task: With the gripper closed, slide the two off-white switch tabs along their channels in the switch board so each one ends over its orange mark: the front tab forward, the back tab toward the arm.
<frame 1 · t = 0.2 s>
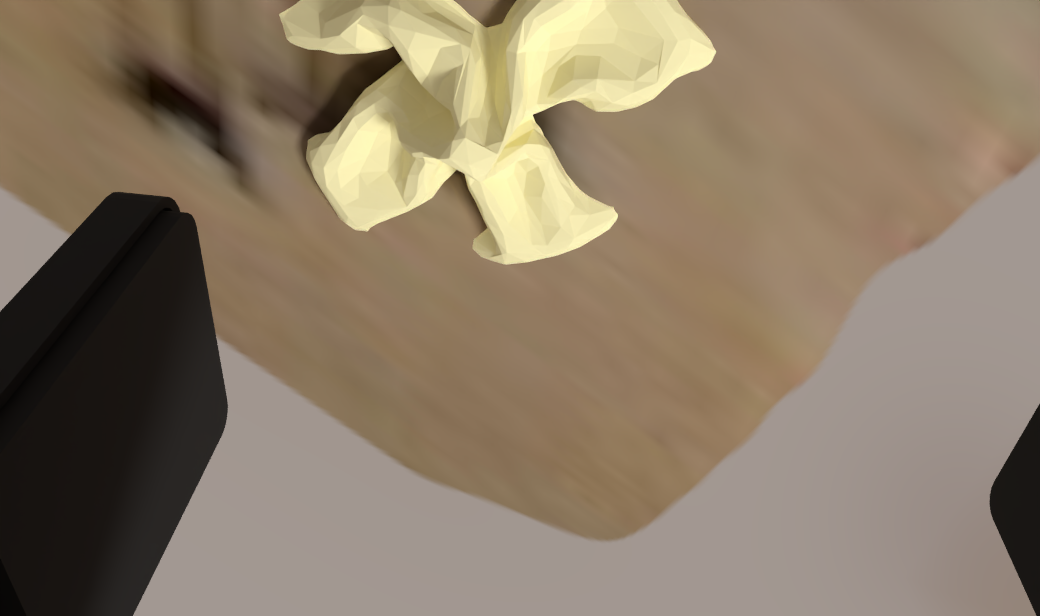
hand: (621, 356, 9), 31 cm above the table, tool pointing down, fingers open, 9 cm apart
cloth: (455, 82, 41), on the table
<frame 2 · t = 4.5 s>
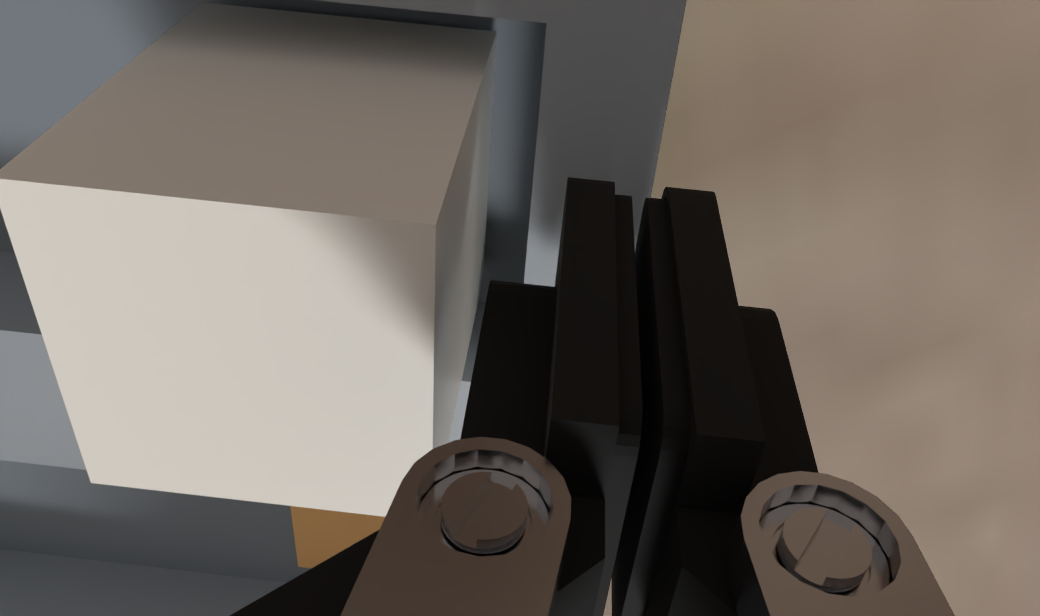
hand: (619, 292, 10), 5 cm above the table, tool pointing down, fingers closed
tab 1: (307, 241, 11), point 4 cm above the table, slide at 0.2 cm, touching gripper
switch board: (93, 277, 17), on the table
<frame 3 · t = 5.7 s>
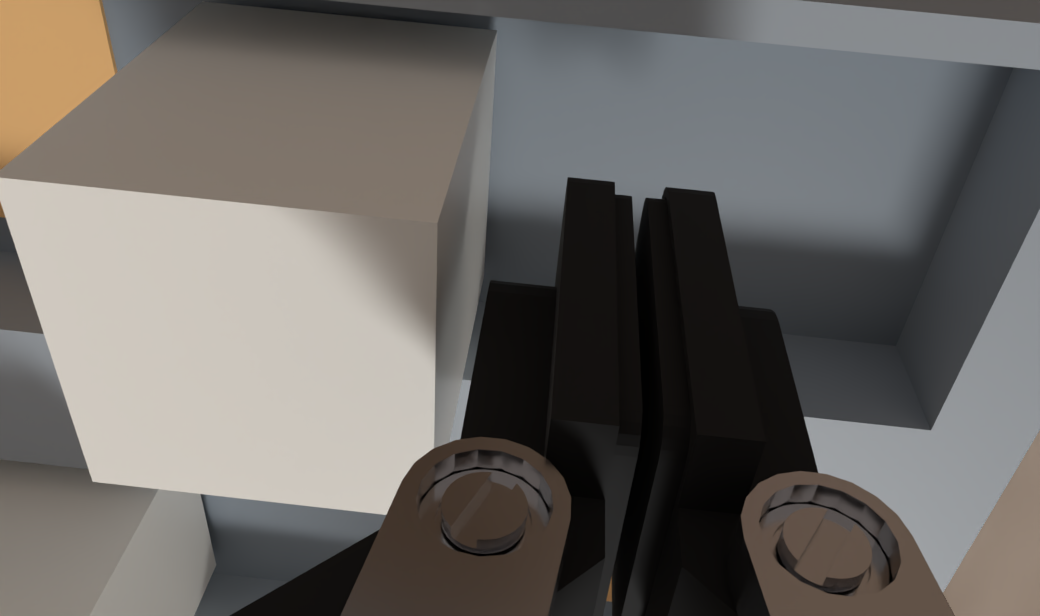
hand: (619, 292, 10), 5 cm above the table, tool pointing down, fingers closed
tab 1: (308, 240, 11), point 4 cm above the table, slide at 6.4 cm, touching gripper
tab 2: (45, 597, 16), point 4 cm above the table, slide at 12.0 cm
switch board: (408, 310, 17), on the table
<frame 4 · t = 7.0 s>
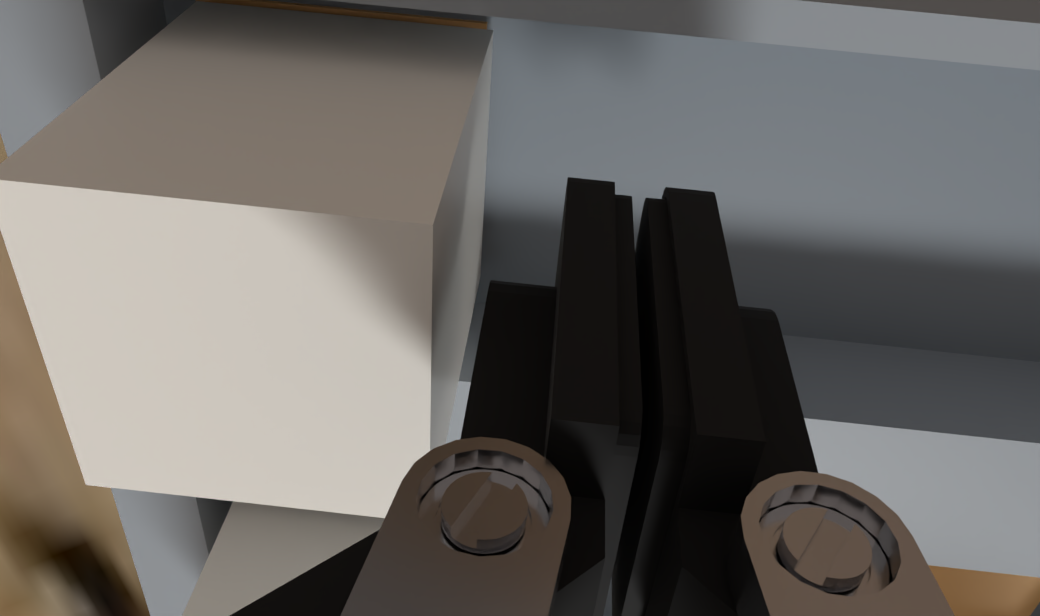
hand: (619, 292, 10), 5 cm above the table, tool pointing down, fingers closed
tab 1: (303, 241, 11), point 4 cm above the table, slide at 11.9 cm, touching gripper
switch board: (687, 340, 17), on the table
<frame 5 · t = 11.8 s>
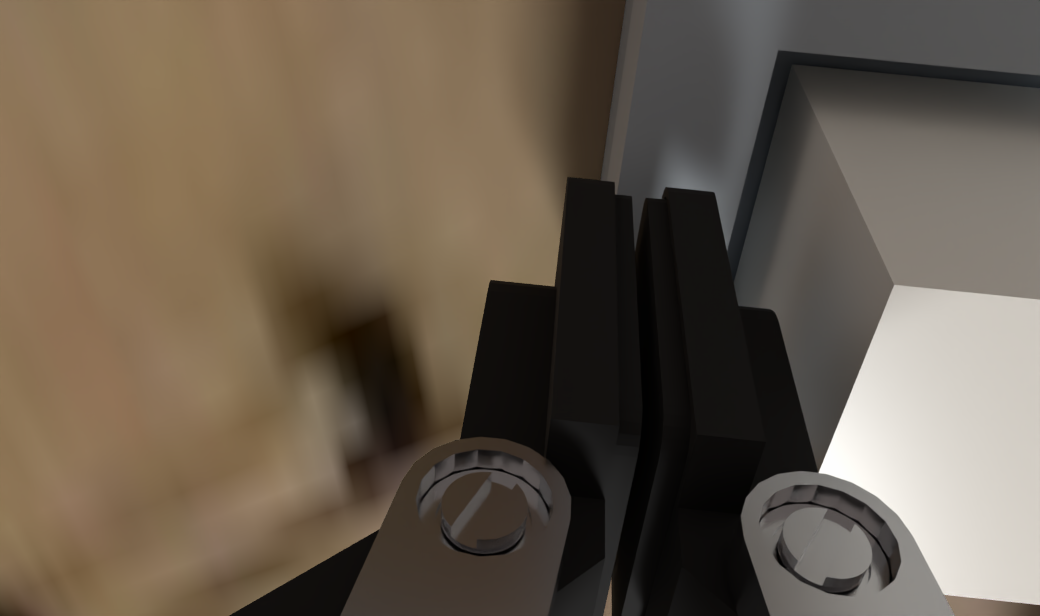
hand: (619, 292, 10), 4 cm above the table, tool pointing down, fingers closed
tab 2: (951, 317, 11), point 4 cm above the table, slide at 11.9 cm, touching gripper
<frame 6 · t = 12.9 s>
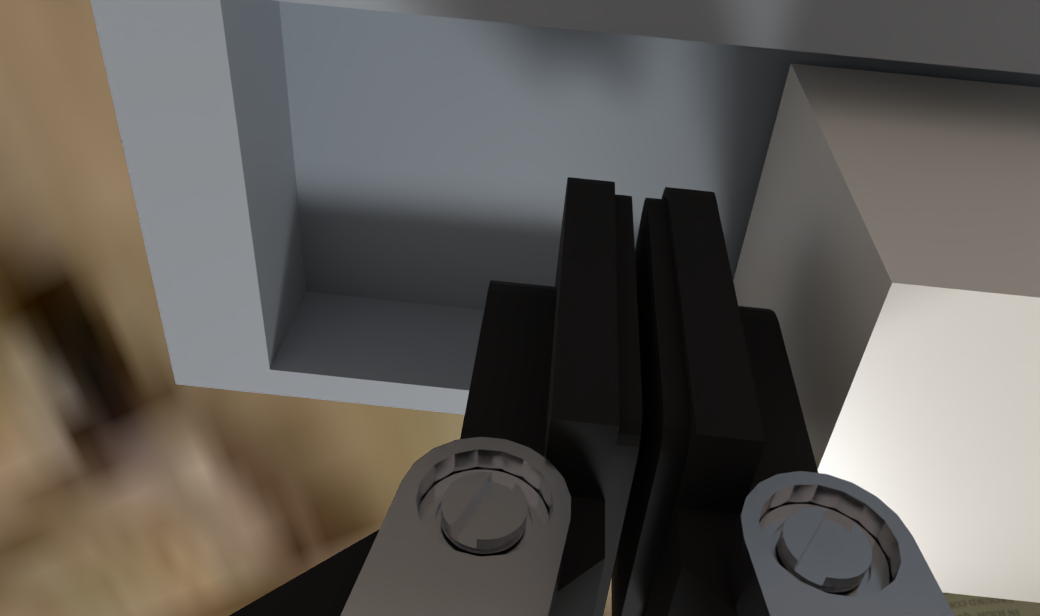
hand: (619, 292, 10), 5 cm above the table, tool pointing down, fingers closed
tab 2: (949, 316, 11), point 4 cm above the table, slide at 5.7 cm, touching gripper
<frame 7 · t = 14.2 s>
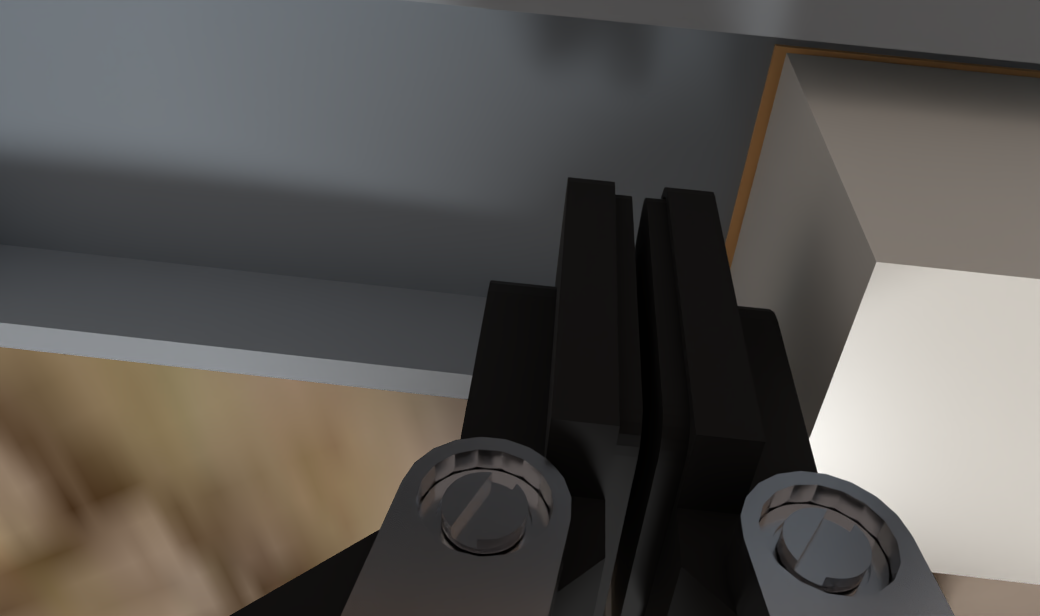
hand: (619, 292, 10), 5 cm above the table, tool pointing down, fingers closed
tab 2: (940, 301, 11), point 4 cm above the table, slide at -0.1 cm, touching gripper
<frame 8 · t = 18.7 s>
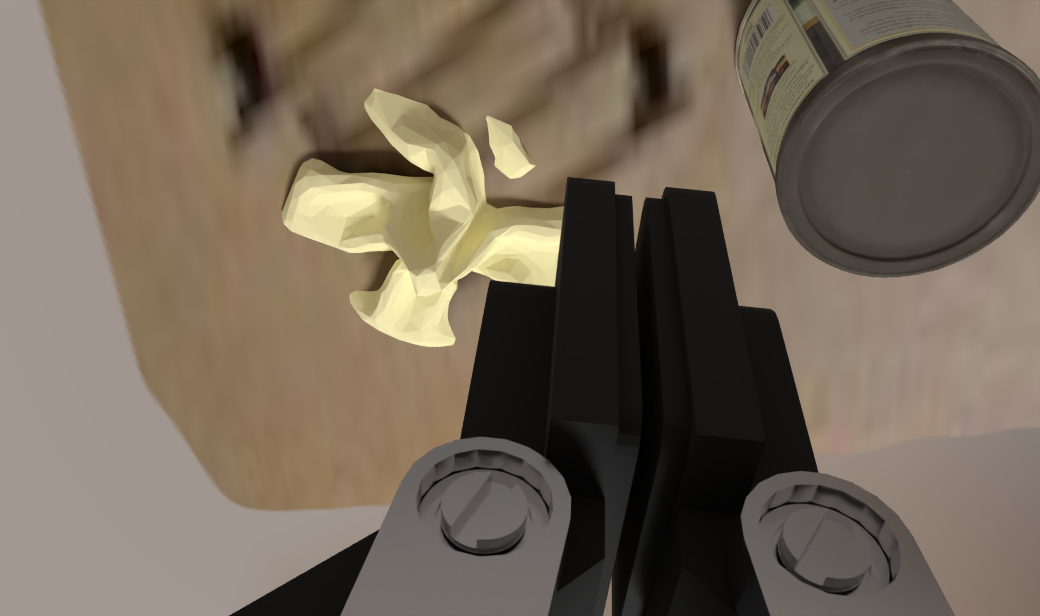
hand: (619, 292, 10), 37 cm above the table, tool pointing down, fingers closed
cloth: (435, 206, 54), on the table
coffee can: (835, 41, 45), on the table
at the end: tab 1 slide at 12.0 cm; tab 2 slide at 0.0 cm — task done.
